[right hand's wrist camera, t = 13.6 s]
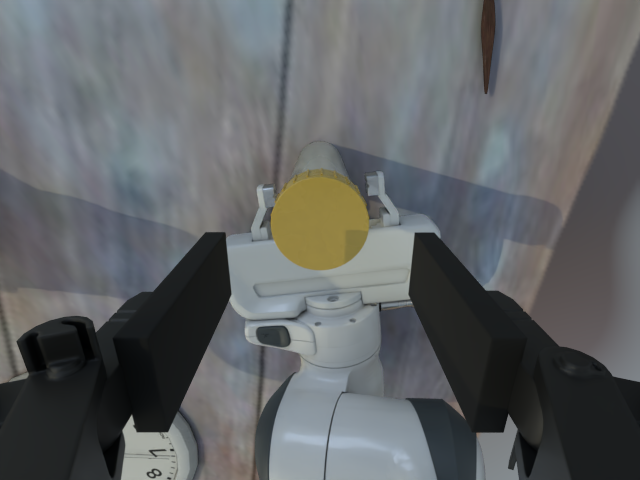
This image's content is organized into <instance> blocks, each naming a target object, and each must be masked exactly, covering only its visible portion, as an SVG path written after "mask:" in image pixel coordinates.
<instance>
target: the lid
mask: <svg viewBox="0 0 640 480" xmlns="http://www.w3.org/2000/svg"><path fill="white" fill-rule="evenodd" d="M274 203H275V206H274V208H273V210H272V213H271V231H272V236H273V239H274V241H275V244H276V246H277V247H278V249H279V250H280V252H281V253H282V254H283V255H284V256H285V257H286V258H287V259H288V260H290V261H291V262H293V263H294V264H296V265H298V266H300V267H303V268H306V269H310V270H329V269H334V268H337V267H340V266H342V265H344V264H346V263H347V262H349V261H350V260H352V259H353V258H354V257H355V256H356V255H357V254H358V253H359V252H360V250H361V249H362V247H363V246H364V244H365V242H366V239H367V236H368V232H369V219H370V217H369V215H368V211H367V208H366V206H367V204H366V202H365V200H364V198H363V196H361V194H360V191H359V189H358V187H357V185H354V184H353V183H352V182H351V181H350V180H349V179H348V177H347V176H346V177H345V176H343V175H342V174H340V173H337V172H336V170H334V171H331V170H326V169H323V168H321V169H314V170H309V169H308V170H307V171H305V172H303V173H300V174H298V175H297V174H296V175H295V176H294V178H292V179H291V180H290V181H289V182H288V183H285V184H284V187H283V189H282V191H281V193H280V194H279V193H278V195H277V197H276V200H275V202H274Z"/></svg>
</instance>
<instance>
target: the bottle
mask: <svg viewBox="0 0 640 480" xmlns="http://www.w3.org/2000/svg"><path fill="white" fill-rule="evenodd" d="M321 168H323V169H326V170H331V171H334V170H336V172H337V173H340V174H342V175H343V176H345V177H346V176H347V177H348V179H349V180H350V178H349V175H348V173H347V170H346V168H345V165H344V163H343V160H342V158H341V155H340V153H339V151H338V150H337V149H336V148H335V147H334V146H333V145H331V144H330V143H327V142H323V141H318V142H313V143H310V144H309V145H307V146H306V147H305V148H304V149H303V150H302V151H301V153H300V155H299V158H298V160H297V163H296V165H295V168H294V170H293V173H292V175H291V178H290V180H291V179H292V178H294V176H295V175H296V174H297V175H298V174H300V173H303V172H305V171H307V170H308V169H309V170H314V169H321ZM290 180H289V181H290ZM350 181H351V180H350Z"/></svg>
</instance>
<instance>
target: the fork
mask: <svg viewBox="0 0 640 480" xmlns="http://www.w3.org/2000/svg"><path fill="white" fill-rule="evenodd" d="M494 34H495V5H494V0H484V4H483V12H482V21H481V39H482V53H483V73H484V91H485V94H487V91H488V84H489V75H490V66H491V58H492V50H493V43H494Z"/></svg>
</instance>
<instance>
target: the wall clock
mask: <svg viewBox="0 0 640 480" xmlns="http://www.w3.org/2000/svg"><path fill="white" fill-rule="evenodd" d="M28 375H29V373H28V372H26V373H24V374H21V375H19V376H17V377H14V378H12V379H11V380H10V381H9V382H12V381H17V380H22V379H26V378H27V377H28ZM123 434H124V438H125V445H126V446H125V453H124V461H123V468H122V476H121V480H193V477H194V474H195V471H196V468H197V465H198V450H197V443H196V440H195V438H194V435H193V433H192V431H191V428H190V426H189V424H188V423H187V421H186V420H185V419H184V418H183V417H182V415H181V414H180V413H179V412H177V414H176V416H175V418H174V421H173V423H172V425H171V427H170V429H169V432H136V429H135V425H134V421H133V417H132V415H131V417H130V419H129V420H128V422H127V424H126V425H125V427H124V429H123Z"/></svg>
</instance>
